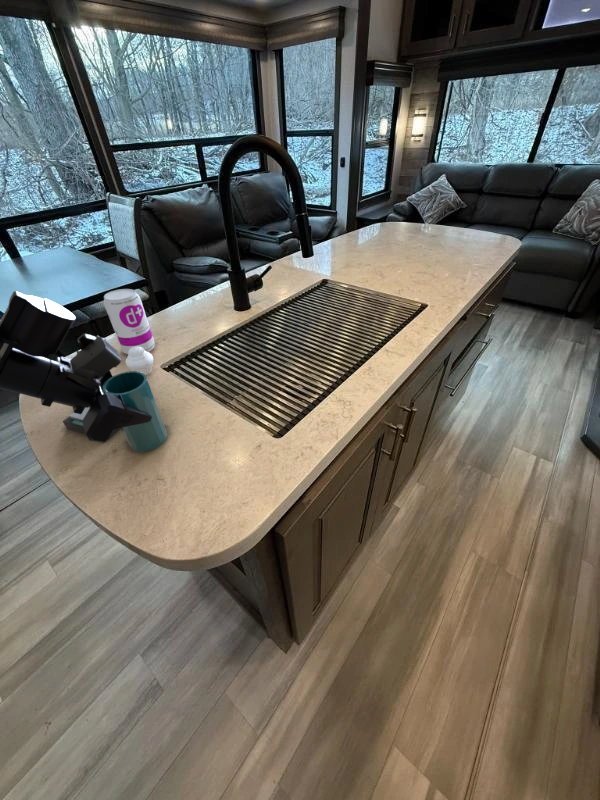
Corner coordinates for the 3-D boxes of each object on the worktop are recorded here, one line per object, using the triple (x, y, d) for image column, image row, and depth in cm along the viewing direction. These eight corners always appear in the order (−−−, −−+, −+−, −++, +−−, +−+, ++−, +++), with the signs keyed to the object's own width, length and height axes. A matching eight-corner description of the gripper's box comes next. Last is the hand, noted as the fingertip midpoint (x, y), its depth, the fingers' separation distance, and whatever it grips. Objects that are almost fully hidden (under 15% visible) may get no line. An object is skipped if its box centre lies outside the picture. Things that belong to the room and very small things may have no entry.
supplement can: (160, 349, 89) (143, 294, 79) (130, 360, 84) (108, 303, 75) (148, 338, 93) (130, 285, 84) (118, 349, 89) (96, 294, 80)
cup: (151, 455, 59) (126, 398, 51) (121, 446, 61) (92, 390, 53) (174, 430, 64) (155, 375, 56) (146, 423, 66) (123, 368, 57)
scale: (107, 440, 62) (101, 430, 60) (67, 429, 65) (60, 419, 63) (149, 402, 71) (146, 392, 69) (112, 393, 73) (108, 384, 72)
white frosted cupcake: (143, 382, 76) (134, 356, 72) (124, 376, 79) (113, 350, 74) (163, 369, 81) (154, 343, 76) (144, 363, 83) (135, 338, 79)
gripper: (78, 359, 40) (187, 397, 52) (61, 308, 52) (153, 349, 64) (35, 432, 41) (151, 454, 53) (28, 366, 53) (124, 396, 65)
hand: (145, 408), depth 59 cm, fingers closed on cup, 7 cm apart
